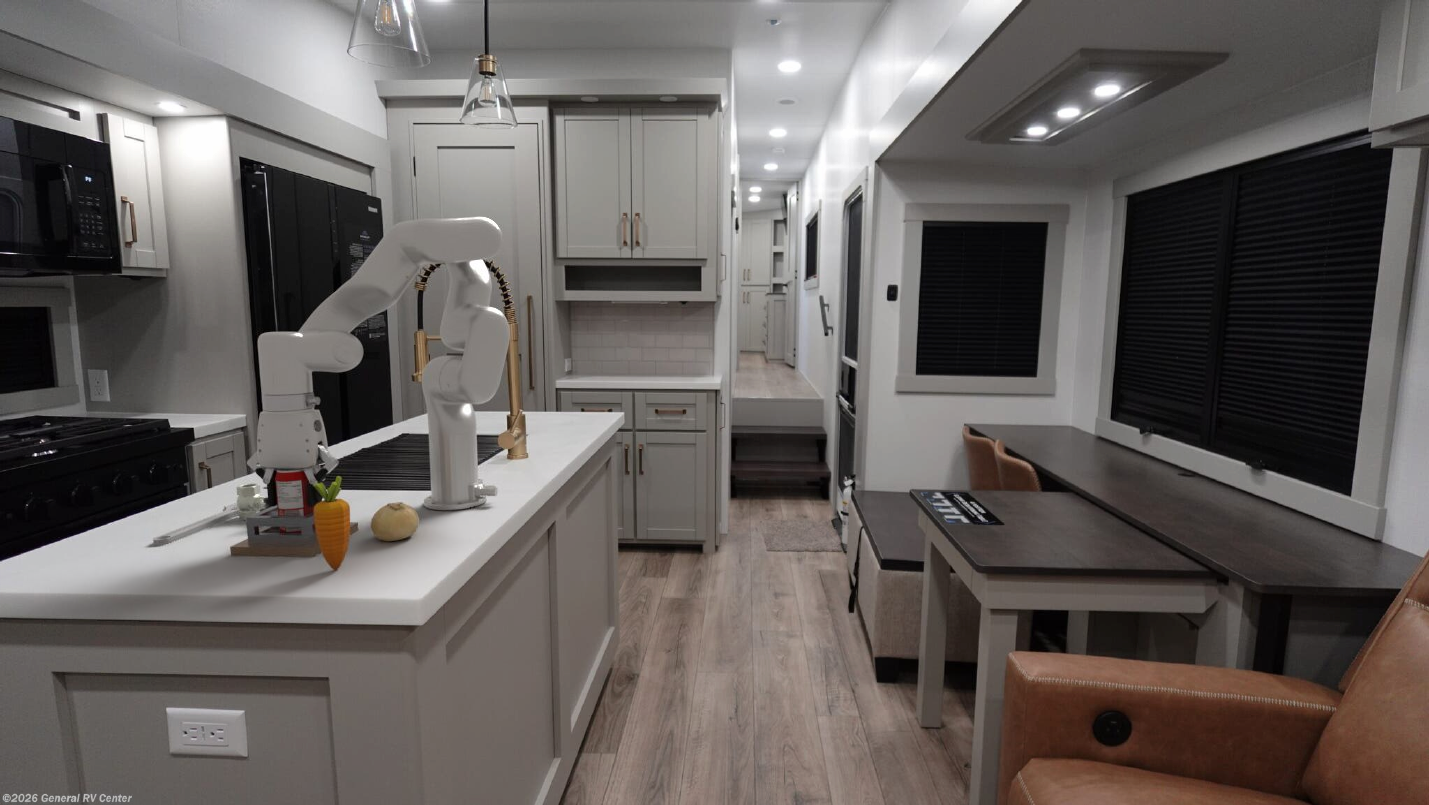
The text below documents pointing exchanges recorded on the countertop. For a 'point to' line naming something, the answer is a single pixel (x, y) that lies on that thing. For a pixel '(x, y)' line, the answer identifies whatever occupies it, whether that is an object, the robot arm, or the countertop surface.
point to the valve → (250, 500)
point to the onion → (394, 522)
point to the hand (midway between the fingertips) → (296, 503)
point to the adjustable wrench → (198, 525)
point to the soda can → (292, 496)
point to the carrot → (332, 524)
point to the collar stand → (280, 535)
